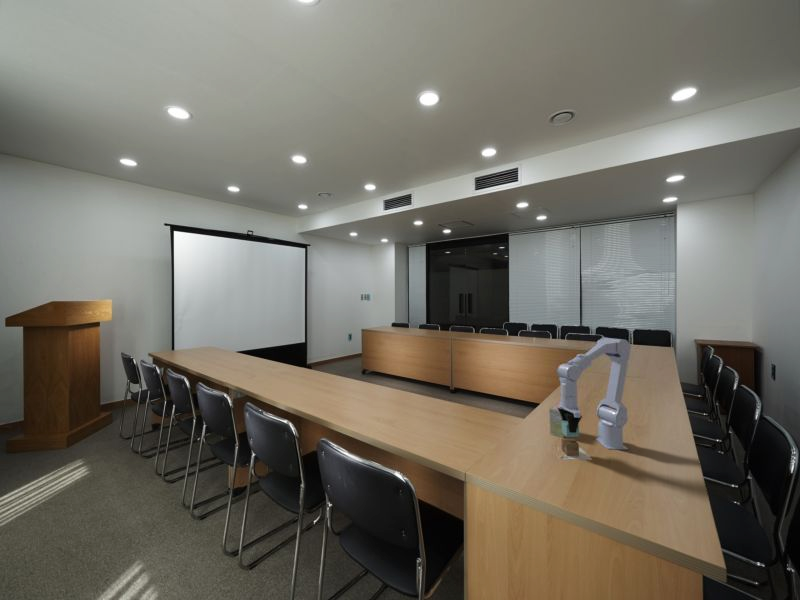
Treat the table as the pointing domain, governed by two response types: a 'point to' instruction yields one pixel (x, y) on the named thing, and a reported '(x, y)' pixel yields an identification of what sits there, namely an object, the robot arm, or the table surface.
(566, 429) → the brick teal
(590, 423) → the table surface
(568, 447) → the brick walnut
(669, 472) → the table surface
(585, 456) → the baseplate
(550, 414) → the box
